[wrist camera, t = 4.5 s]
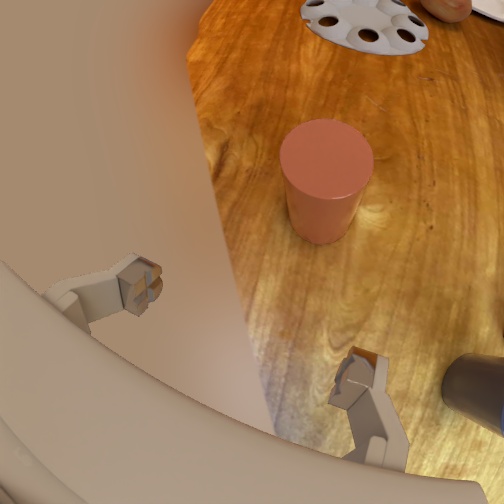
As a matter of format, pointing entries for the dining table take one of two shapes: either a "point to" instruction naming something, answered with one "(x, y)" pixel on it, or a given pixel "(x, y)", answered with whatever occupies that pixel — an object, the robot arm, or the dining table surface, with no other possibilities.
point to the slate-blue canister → (477, 390)
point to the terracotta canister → (324, 177)
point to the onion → (448, 9)
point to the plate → (490, 8)
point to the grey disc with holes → (367, 24)
